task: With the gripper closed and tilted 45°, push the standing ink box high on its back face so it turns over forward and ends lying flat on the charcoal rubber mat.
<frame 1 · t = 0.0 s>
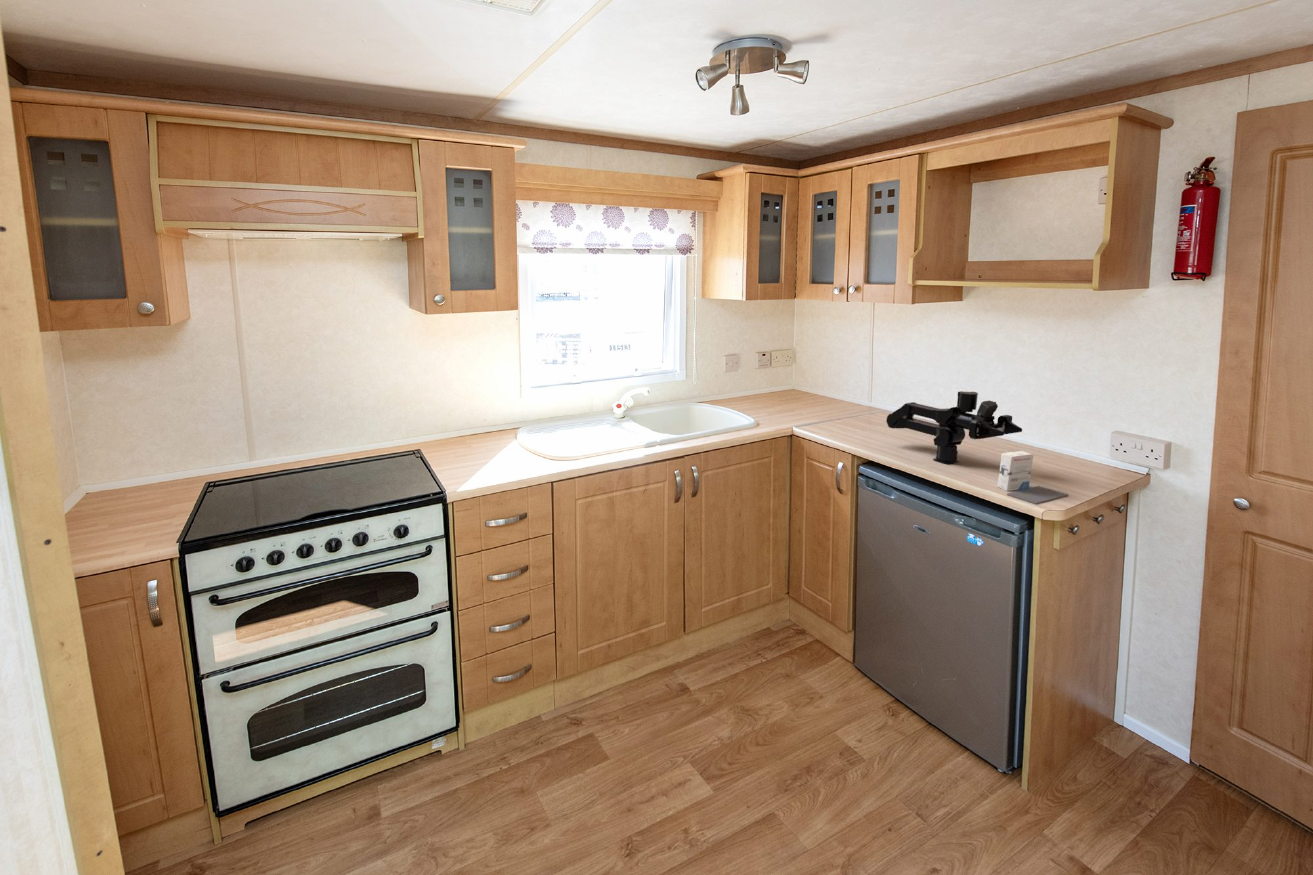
hand: (1012, 432, 241), 17 cm above the table, tool horizontal, fingers open, 9 cm apart
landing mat: (1037, 495, 230), on the table
ink box: (1013, 488, 237), on the table
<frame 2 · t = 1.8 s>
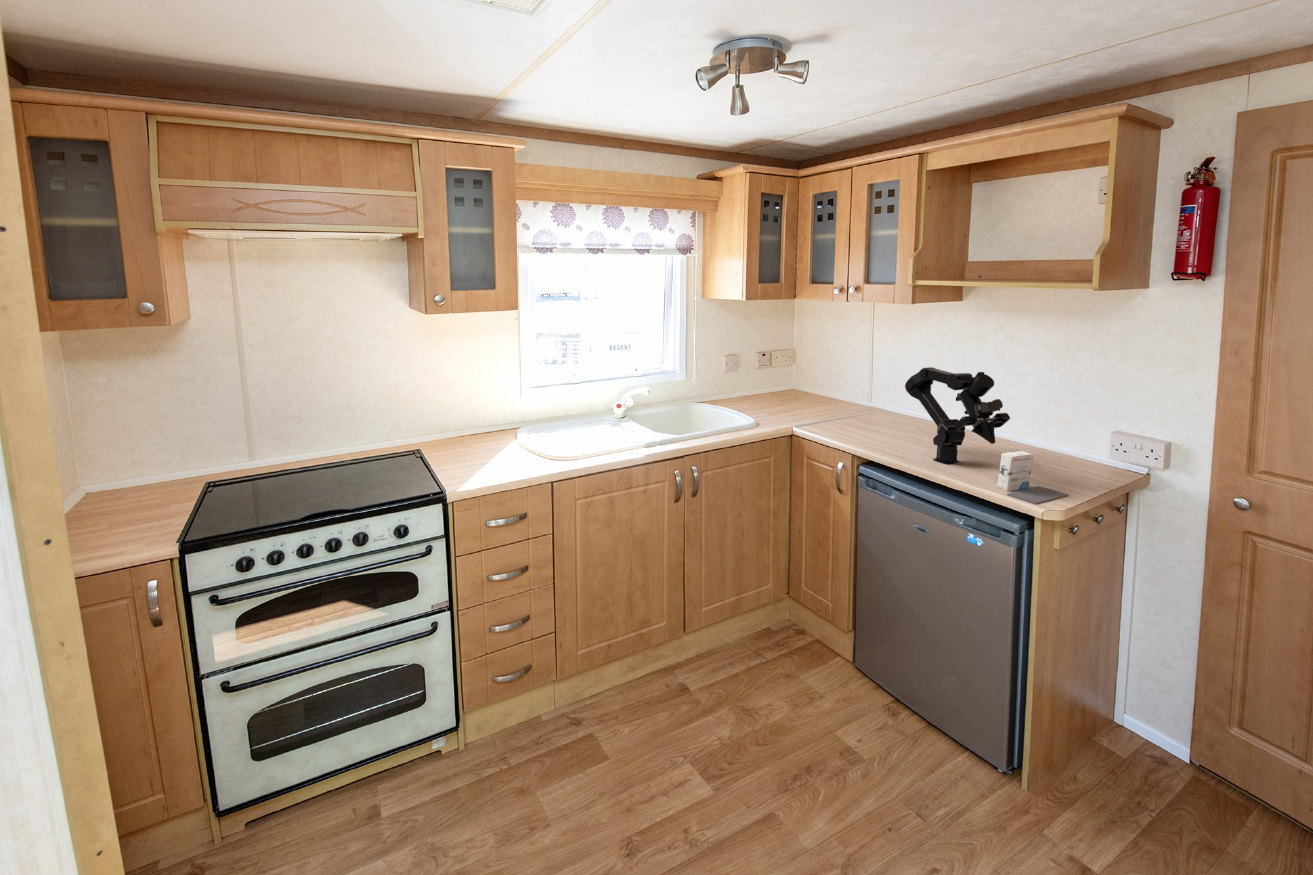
hand: (993, 443, 243), 12 cm above the table, tool tilted 45°, fingers closed
nothing on the table moved.
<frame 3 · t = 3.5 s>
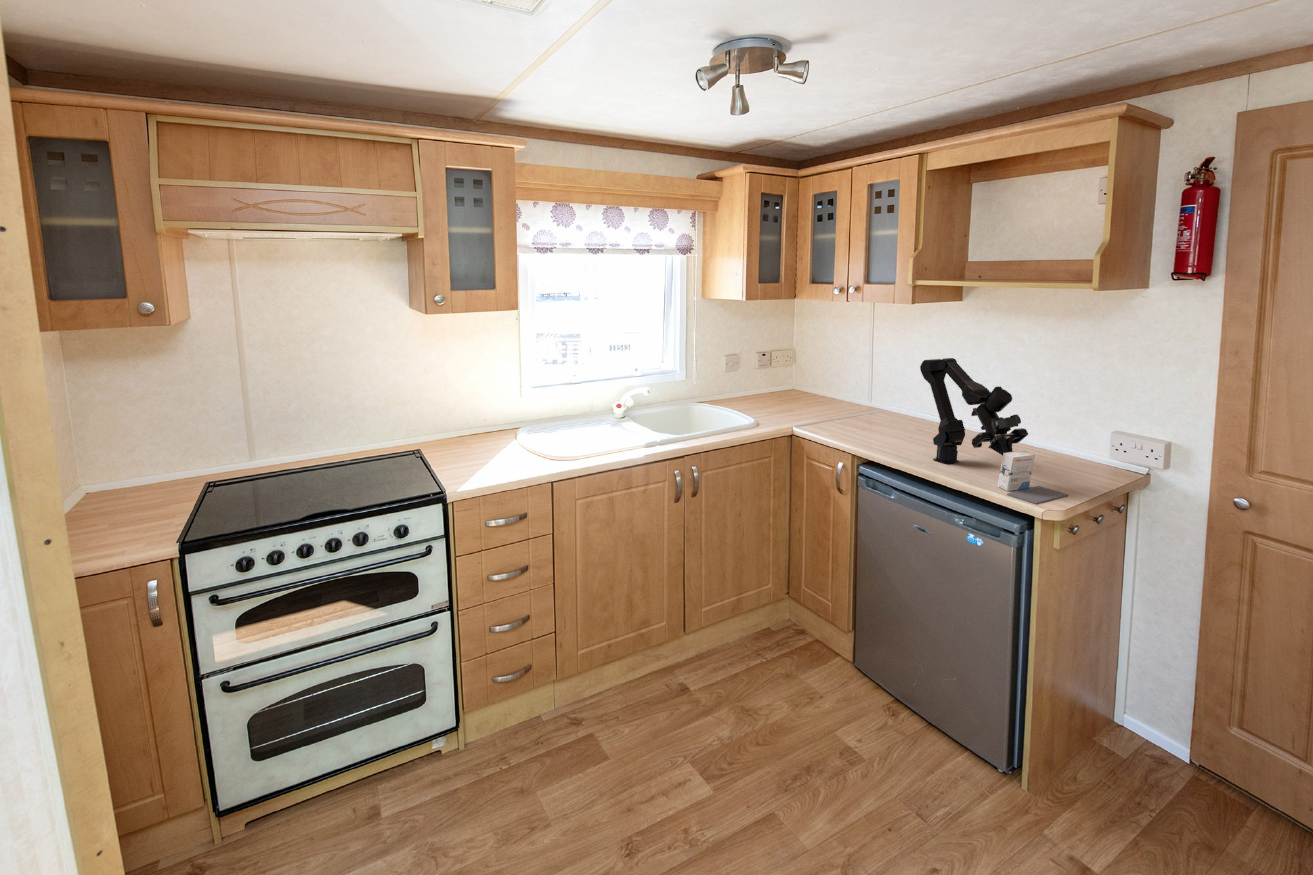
hand: (1011, 460, 237), 9 cm above the table, tool tilted 45°, fingers closed, pressing on ink box
ink box: (1013, 488, 237), on the table, touching gripper
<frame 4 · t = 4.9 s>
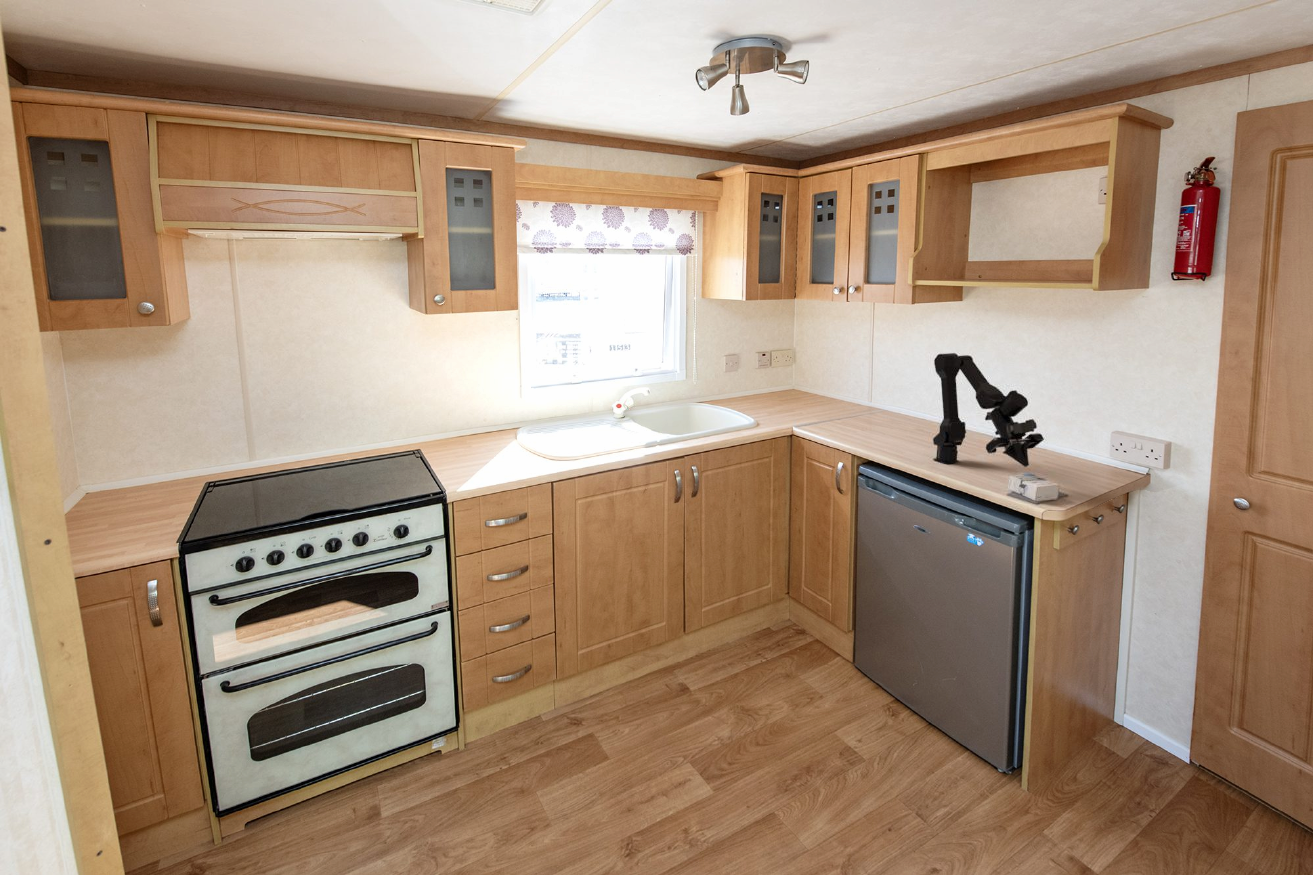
hand: (1026, 466, 231), 9 cm above the table, tool tilted 45°, fingers closed
ink box: (1019, 481, 234), point 3 cm above the table, touching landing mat
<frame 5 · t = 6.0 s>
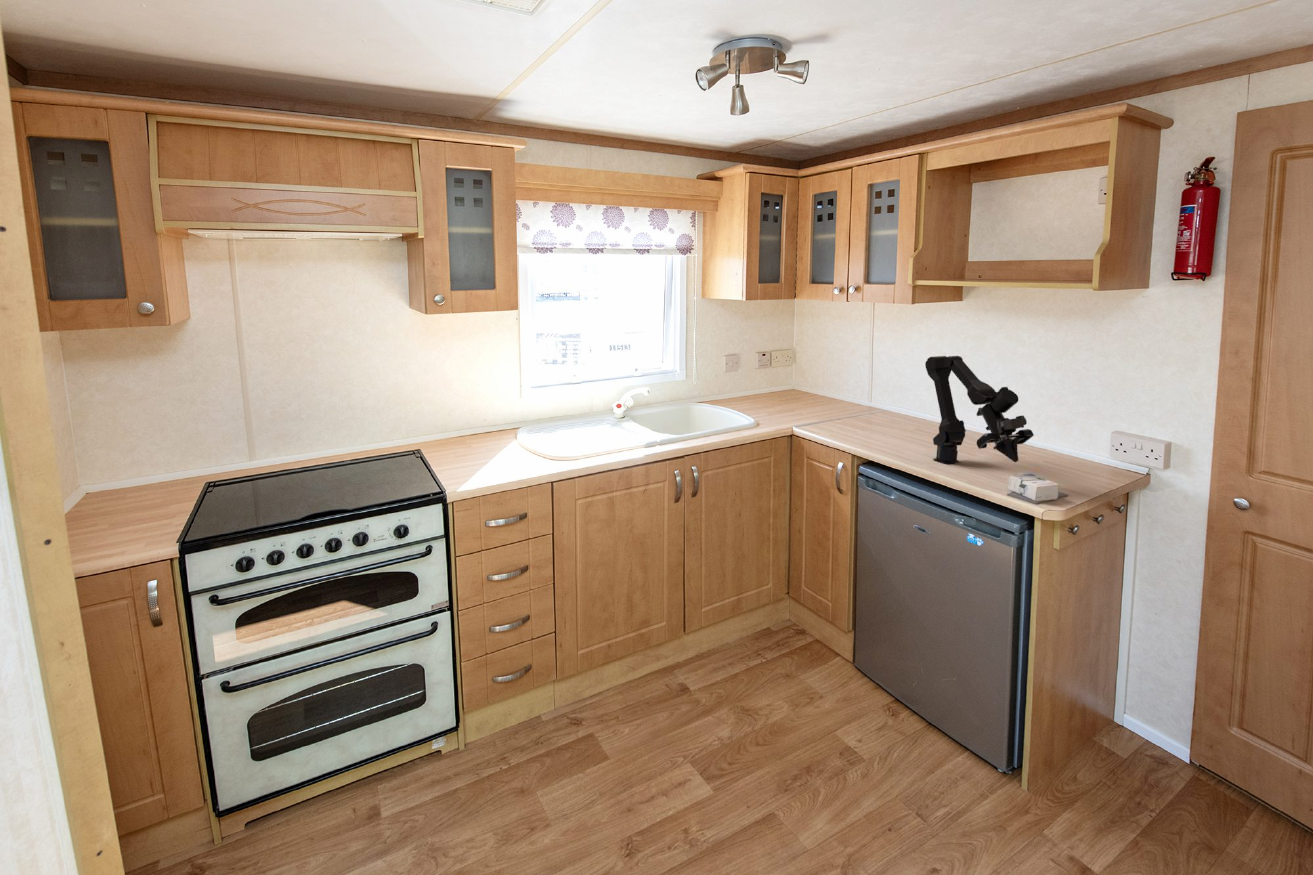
hand: (1016, 461, 235), 9 cm above the table, tool tilted 45°, fingers closed
nothing on the table moved.
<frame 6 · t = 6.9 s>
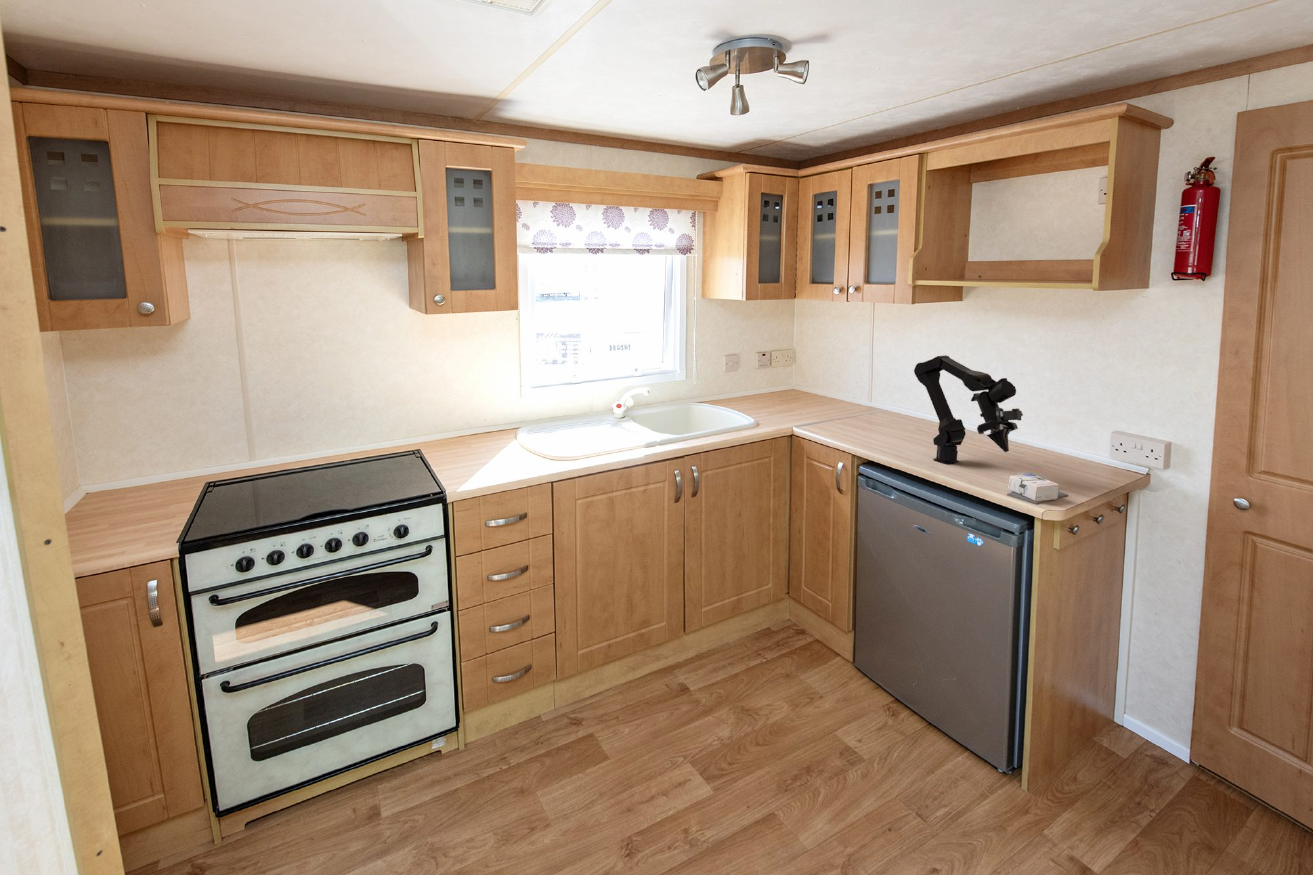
hand: (1006, 451, 242), 10 cm above the table, tool tilted 35°, fingers closed
nothing on the table moved.
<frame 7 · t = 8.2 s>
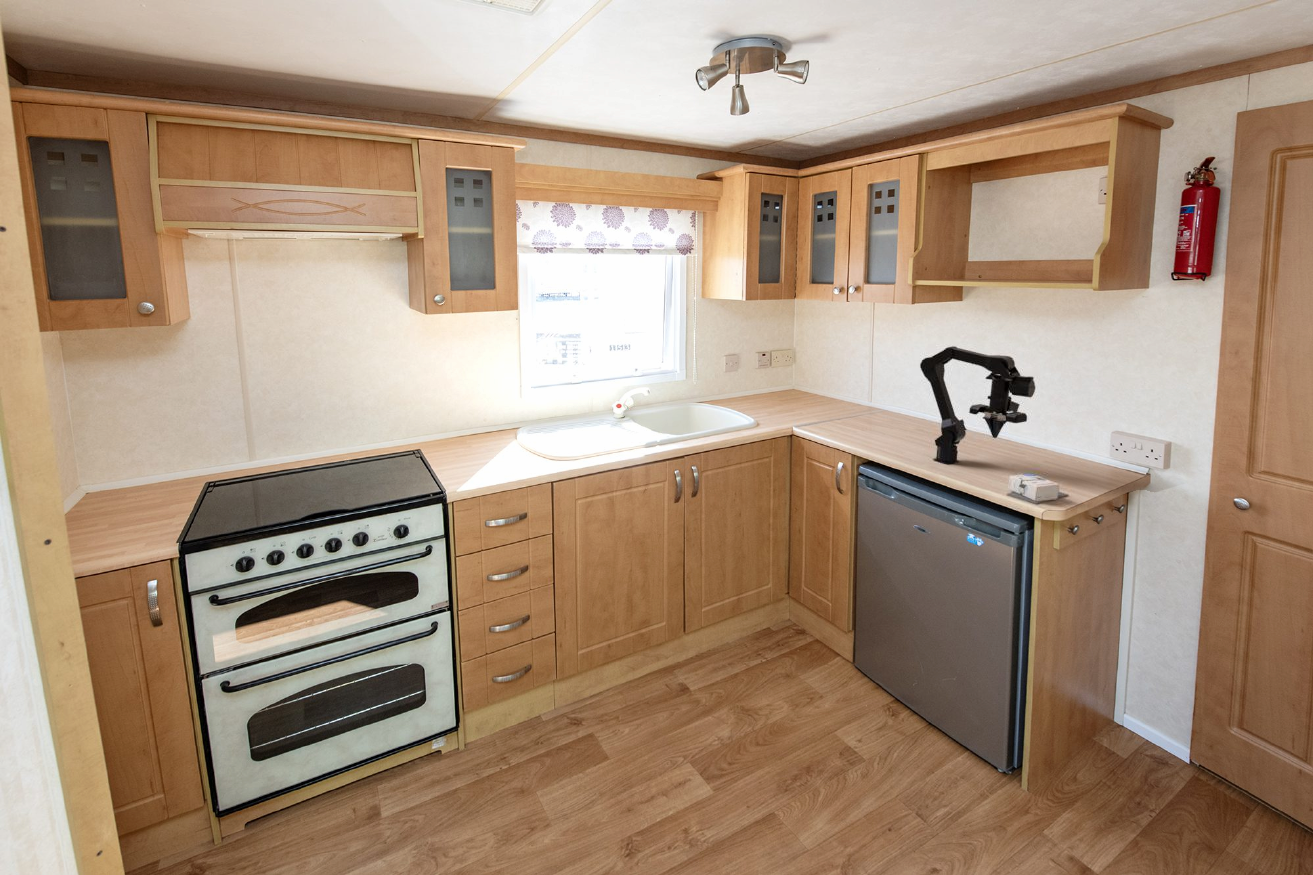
hand: (994, 437, 252), 12 cm above the table, tool pointing down, fingers closed
nothing on the table moved.
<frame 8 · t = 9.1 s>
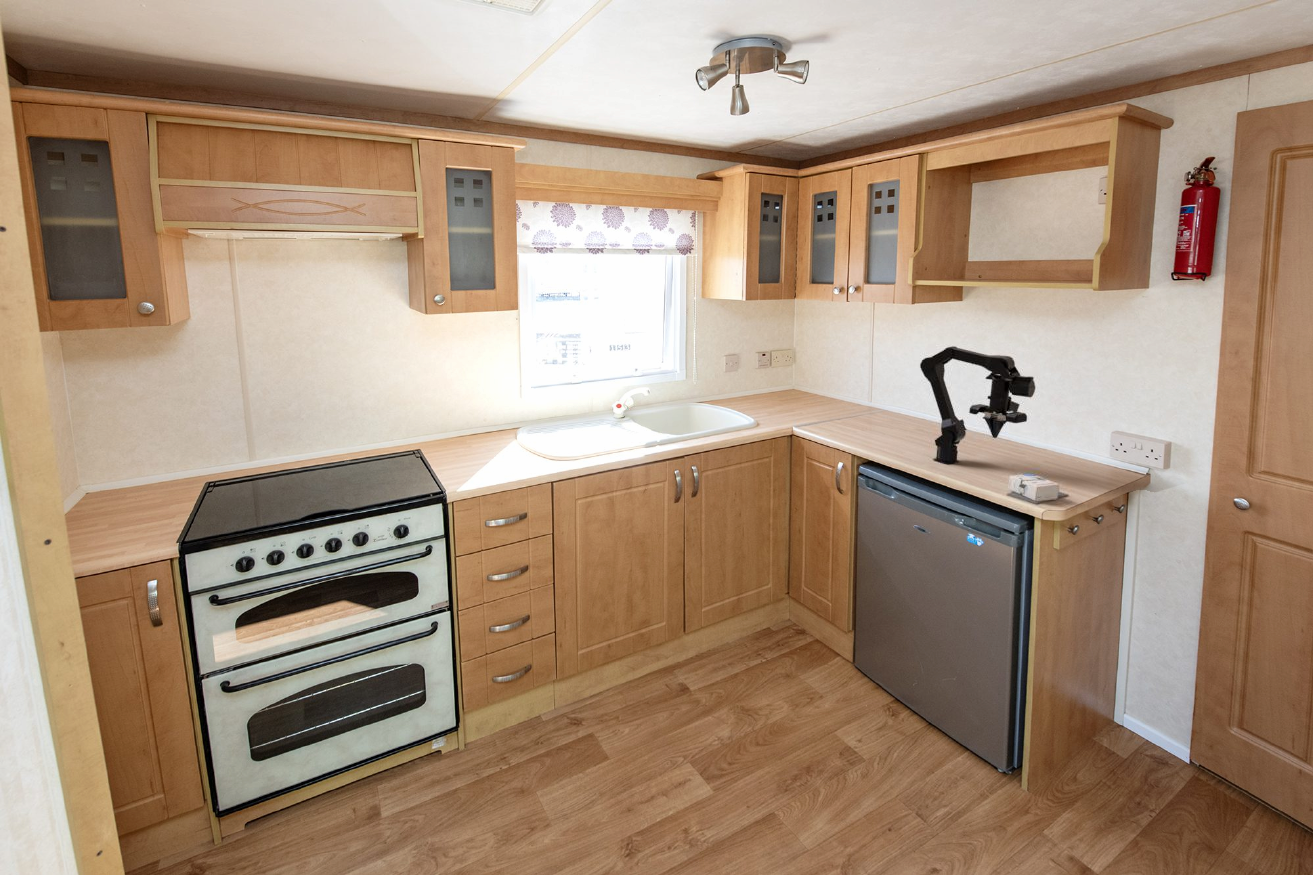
hand: (994, 437, 252), 12 cm above the table, tool pointing down, fingers closed
nothing on the table moved.
at the end: ink box tilted 89°; ink box inside the target area (4.0 cm from its centre), point 2.7 cm above the table; the gripper is holding nothing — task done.
